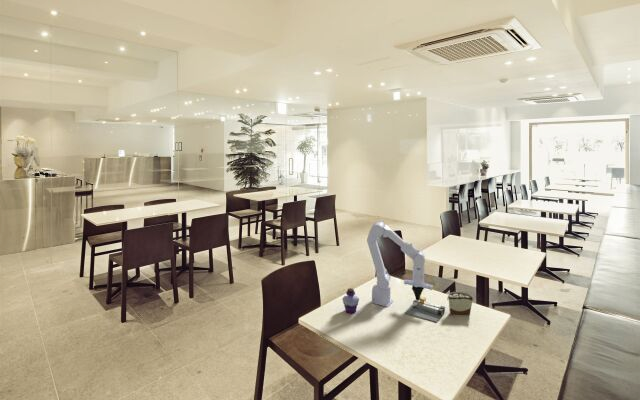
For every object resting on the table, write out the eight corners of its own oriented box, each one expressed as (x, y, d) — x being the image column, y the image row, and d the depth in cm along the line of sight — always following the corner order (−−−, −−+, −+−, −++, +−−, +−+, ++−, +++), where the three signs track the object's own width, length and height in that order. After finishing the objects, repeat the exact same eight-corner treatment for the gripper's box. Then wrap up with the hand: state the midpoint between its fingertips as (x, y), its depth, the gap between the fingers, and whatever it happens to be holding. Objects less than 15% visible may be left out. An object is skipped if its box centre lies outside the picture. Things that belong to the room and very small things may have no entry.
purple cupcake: (359, 307, 174) (358, 285, 172) (359, 315, 166) (359, 293, 164) (342, 307, 175) (342, 285, 173) (342, 315, 167) (341, 292, 165)
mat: (404, 313, 167) (404, 312, 167) (413, 303, 177) (413, 302, 177) (437, 322, 158) (437, 321, 158) (444, 311, 168) (444, 310, 168)
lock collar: (419, 302, 172) (419, 298, 171) (421, 300, 174) (421, 296, 174) (424, 303, 170) (424, 299, 170) (425, 301, 173) (426, 297, 172)
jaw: (411, 307, 172) (412, 300, 171) (414, 305, 174) (414, 299, 173) (441, 316, 162) (441, 309, 162) (443, 314, 164) (443, 307, 164)
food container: (468, 309, 169) (469, 291, 168) (472, 315, 163) (474, 296, 162) (443, 309, 170) (444, 290, 169) (447, 315, 164) (447, 296, 163)
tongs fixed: (413, 305, 174) (413, 300, 174) (414, 303, 176) (414, 299, 175) (443, 313, 165) (444, 308, 165) (444, 311, 167) (445, 306, 167)
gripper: (402, 274, 172) (401, 299, 174) (430, 280, 164) (429, 306, 166) (406, 270, 178) (406, 294, 180) (434, 275, 170) (433, 300, 172)
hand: (417, 299), depth 173 cm, fingers closed
